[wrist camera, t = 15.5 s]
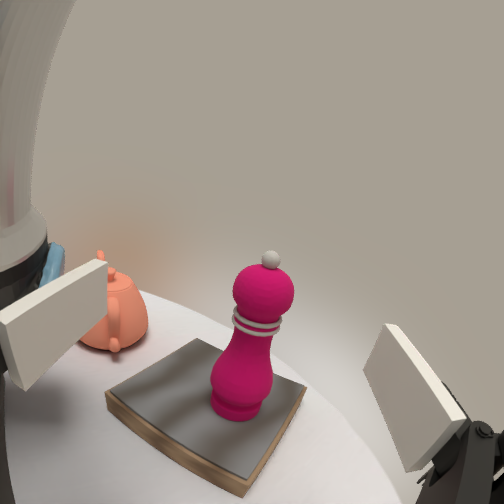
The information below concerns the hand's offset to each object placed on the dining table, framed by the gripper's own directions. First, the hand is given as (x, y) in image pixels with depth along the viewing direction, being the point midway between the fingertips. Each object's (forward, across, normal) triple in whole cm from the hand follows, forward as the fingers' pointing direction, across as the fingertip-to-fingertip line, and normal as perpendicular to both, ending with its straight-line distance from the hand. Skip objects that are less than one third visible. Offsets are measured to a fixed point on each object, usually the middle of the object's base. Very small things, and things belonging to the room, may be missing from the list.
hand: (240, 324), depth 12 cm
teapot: (+29, -24, -25) cm, 45 cm away
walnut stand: (+16, -1, -24) cm, 29 cm away
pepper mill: (+15, +2, -20) cm, 25 cm away
